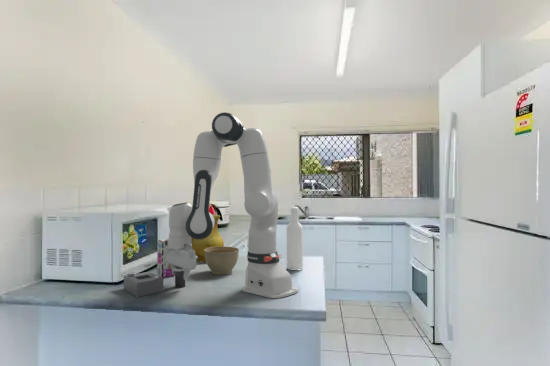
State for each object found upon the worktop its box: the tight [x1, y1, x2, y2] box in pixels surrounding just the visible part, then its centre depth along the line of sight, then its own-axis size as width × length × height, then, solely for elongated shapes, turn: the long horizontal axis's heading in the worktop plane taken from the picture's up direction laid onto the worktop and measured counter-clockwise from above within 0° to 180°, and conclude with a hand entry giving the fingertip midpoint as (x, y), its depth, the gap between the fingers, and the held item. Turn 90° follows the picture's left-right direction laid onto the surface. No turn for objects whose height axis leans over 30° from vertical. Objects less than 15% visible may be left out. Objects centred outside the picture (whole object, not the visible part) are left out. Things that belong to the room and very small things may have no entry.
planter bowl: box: [204, 246, 240, 276], centre depth 166 cm, size 16×16×11 cm
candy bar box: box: [156, 238, 175, 279], centre depth 161 cm, size 11×5×16 cm, turn 137°
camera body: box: [123, 271, 164, 298], centre depth 139 cm, size 14×10×6 cm
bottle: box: [286, 206, 304, 270], centre depth 173 cm, size 8×8×30 cm
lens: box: [174, 266, 186, 289], centre depth 143 cm, size 4×4×8 cm
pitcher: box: [191, 214, 225, 263], centre depth 195 cm, size 17×19×25 cm
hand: (180, 277), depth 143 cm, fingers open, 8 cm apart
